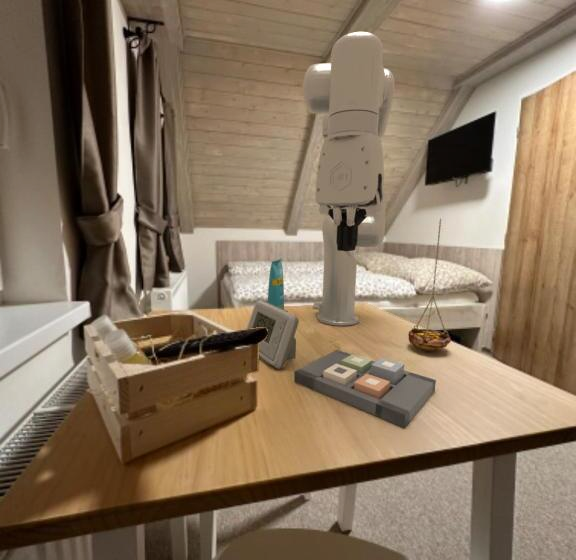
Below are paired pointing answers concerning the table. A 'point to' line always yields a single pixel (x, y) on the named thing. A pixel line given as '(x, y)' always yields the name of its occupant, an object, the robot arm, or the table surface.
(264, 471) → the table surface
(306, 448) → the table surface
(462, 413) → the table surface
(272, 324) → the digital clock
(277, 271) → the tube
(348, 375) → the key ivory
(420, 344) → the bird feeder
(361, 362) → the key sage
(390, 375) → the key slate
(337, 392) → the keypad frame
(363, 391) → the key terracotta
